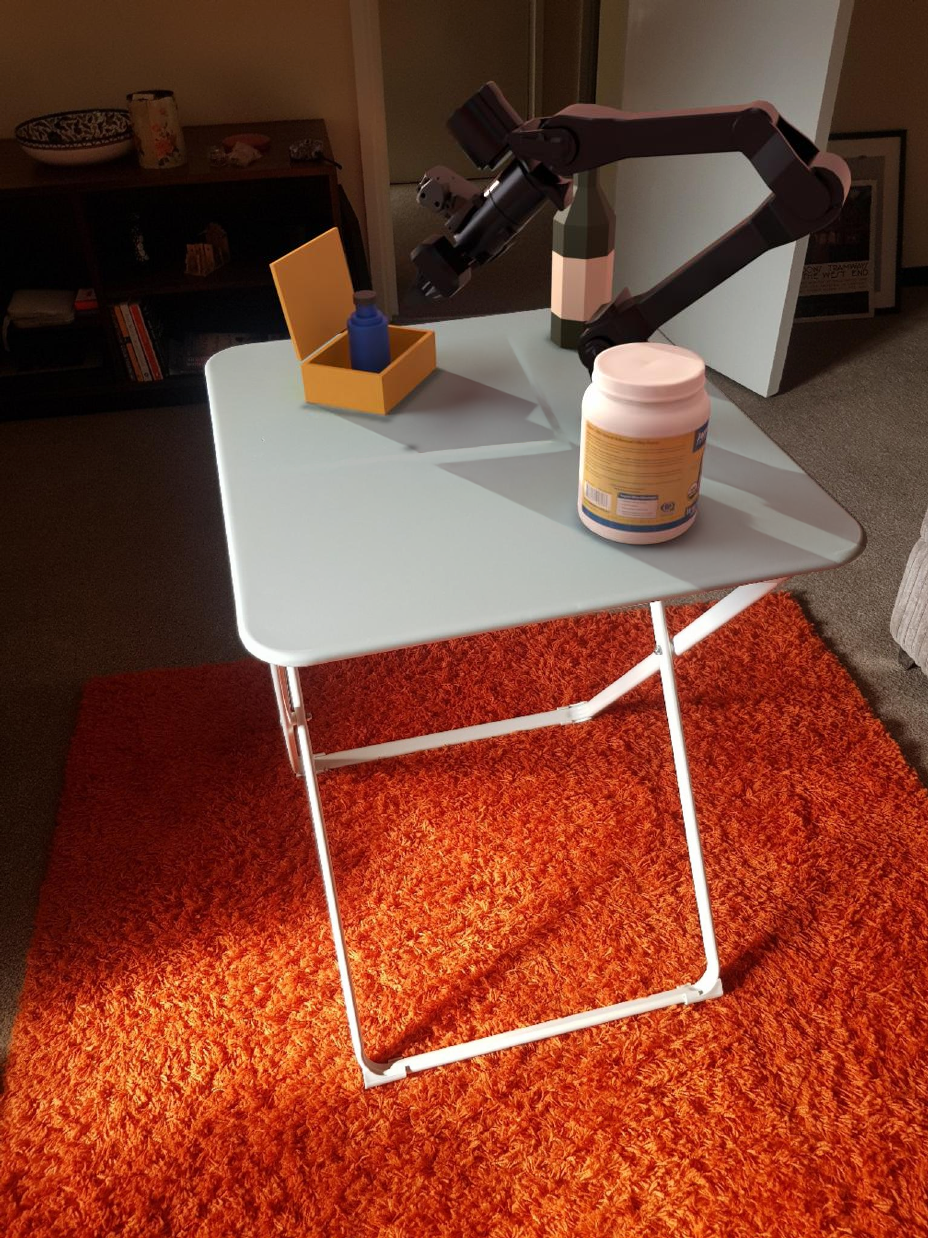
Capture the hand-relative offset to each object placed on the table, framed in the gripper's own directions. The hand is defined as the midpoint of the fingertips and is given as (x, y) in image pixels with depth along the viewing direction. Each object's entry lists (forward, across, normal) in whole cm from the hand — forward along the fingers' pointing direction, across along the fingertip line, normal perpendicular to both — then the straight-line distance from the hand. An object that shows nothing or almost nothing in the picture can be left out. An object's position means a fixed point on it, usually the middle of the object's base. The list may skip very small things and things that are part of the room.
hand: (422, 291), depth 117 cm
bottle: (+15, 0, +4) cm, 15 cm away
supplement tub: (-13, +19, +33) cm, 40 cm away
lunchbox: (+15, 0, +4) cm, 16 cm away
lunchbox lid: (+12, 0, -9) cm, 15 cm away
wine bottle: (+1, -25, +19) cm, 31 cm away
